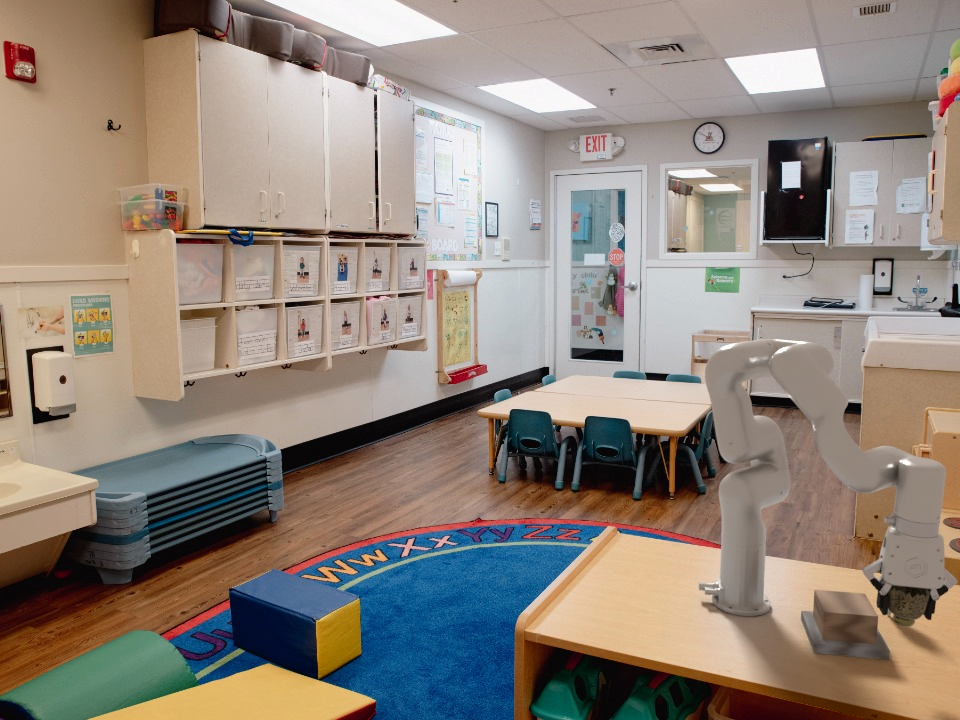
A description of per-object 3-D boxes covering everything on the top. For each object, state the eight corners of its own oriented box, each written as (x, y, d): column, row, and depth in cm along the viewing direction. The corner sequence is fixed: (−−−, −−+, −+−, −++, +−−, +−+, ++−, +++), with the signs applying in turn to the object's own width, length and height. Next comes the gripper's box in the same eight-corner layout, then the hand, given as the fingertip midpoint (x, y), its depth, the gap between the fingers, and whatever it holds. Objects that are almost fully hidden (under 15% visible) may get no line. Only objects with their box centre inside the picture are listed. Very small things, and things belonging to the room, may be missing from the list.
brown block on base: (813, 652, 157) (815, 615, 156) (800, 619, 171) (802, 584, 169) (889, 659, 154) (892, 622, 153) (870, 625, 168) (872, 590, 166)
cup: (873, 613, 150) (877, 575, 149) (909, 612, 151) (914, 573, 150) (896, 634, 143) (901, 594, 142) (934, 633, 144) (940, 592, 142)
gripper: (869, 528, 142) (859, 618, 145) (975, 537, 138) (963, 629, 141) (859, 513, 149) (849, 599, 152) (959, 521, 145) (947, 609, 149)
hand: (904, 613), depth 147 cm, fingers closed on cup, 6 cm apart
